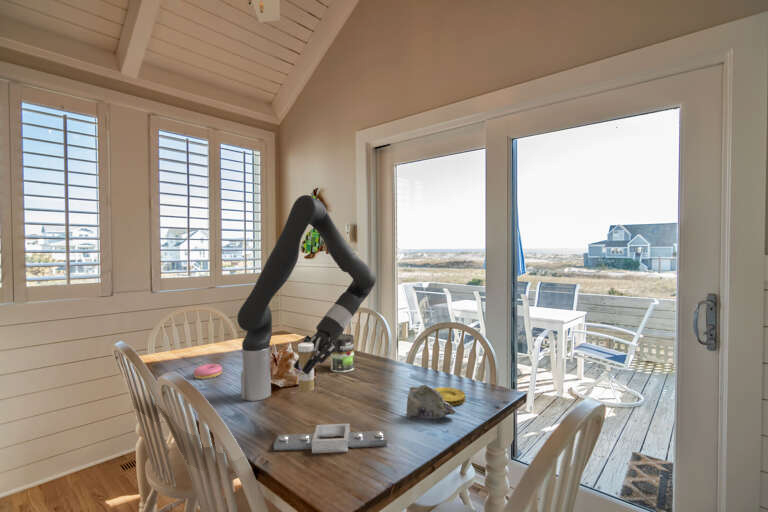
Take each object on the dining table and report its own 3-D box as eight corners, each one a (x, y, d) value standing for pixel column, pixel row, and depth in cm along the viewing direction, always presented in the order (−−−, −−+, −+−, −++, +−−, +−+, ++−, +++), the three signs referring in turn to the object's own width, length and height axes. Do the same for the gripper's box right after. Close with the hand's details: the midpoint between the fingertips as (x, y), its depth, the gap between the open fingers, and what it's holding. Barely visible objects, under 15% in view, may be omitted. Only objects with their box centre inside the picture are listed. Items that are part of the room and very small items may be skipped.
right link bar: (348, 447, 96) (348, 439, 96) (349, 437, 101) (349, 429, 101) (387, 446, 96) (386, 437, 96) (386, 436, 101) (386, 428, 101)
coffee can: (359, 369, 160) (358, 336, 160) (338, 374, 154) (337, 340, 154) (346, 363, 168) (345, 332, 168) (326, 368, 162) (325, 336, 162)
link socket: (312, 453, 94) (311, 441, 94) (317, 435, 103) (316, 424, 103) (347, 451, 94) (347, 439, 94) (349, 434, 103) (349, 423, 103)
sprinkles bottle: (295, 390, 108) (294, 344, 108) (307, 385, 111) (307, 341, 111) (305, 394, 105) (304, 346, 105) (317, 389, 108) (317, 343, 108)
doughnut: (207, 381, 149) (207, 371, 149) (187, 378, 153) (187, 368, 153) (228, 373, 159) (228, 363, 159) (209, 370, 163) (208, 361, 163)
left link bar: (273, 450, 95) (273, 442, 95) (278, 440, 100) (278, 432, 100) (313, 449, 96) (313, 440, 96) (316, 439, 101) (315, 431, 101)
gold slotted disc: (440, 410, 118) (440, 403, 118) (423, 396, 129) (422, 390, 129) (472, 403, 122) (472, 397, 122) (452, 391, 133) (452, 385, 133)
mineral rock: (457, 419, 111) (456, 385, 111) (435, 432, 103) (434, 396, 103) (423, 406, 120) (422, 375, 120) (400, 417, 113) (400, 384, 112)
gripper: (314, 312, 118) (279, 358, 110) (341, 318, 107) (304, 369, 99) (329, 326, 122) (296, 371, 114) (355, 333, 111) (321, 384, 103)
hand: (300, 370), depth 107 cm, fingers closed on sprinkles bottle, 4 cm apart
